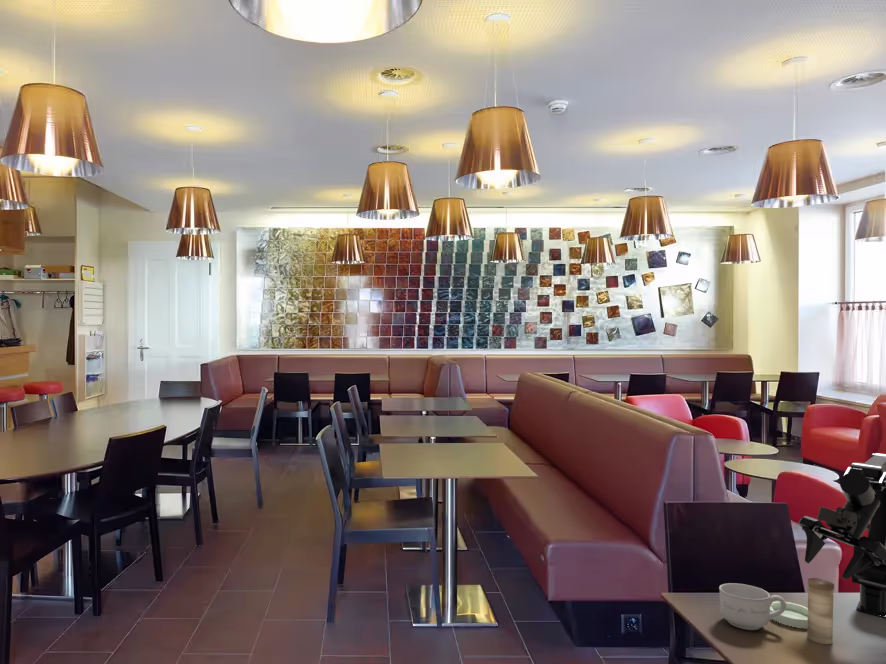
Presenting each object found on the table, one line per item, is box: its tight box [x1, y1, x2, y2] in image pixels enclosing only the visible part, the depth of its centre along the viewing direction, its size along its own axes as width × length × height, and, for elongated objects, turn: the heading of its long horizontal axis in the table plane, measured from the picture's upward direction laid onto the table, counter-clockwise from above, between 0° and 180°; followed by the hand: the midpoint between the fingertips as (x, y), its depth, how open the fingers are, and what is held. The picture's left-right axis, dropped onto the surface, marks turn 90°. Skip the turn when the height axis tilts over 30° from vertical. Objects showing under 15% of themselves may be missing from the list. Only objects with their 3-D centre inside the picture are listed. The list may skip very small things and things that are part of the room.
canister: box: [806, 577, 835, 645], centre depth 137 cm, size 5×5×12 cm
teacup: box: [718, 582, 787, 631], centre depth 142 cm, size 14×11×8 cm
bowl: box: [770, 600, 808, 630], centre depth 147 cm, size 10×10×2 cm
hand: (824, 570), depth 140 cm, fingers open, 9 cm apart
